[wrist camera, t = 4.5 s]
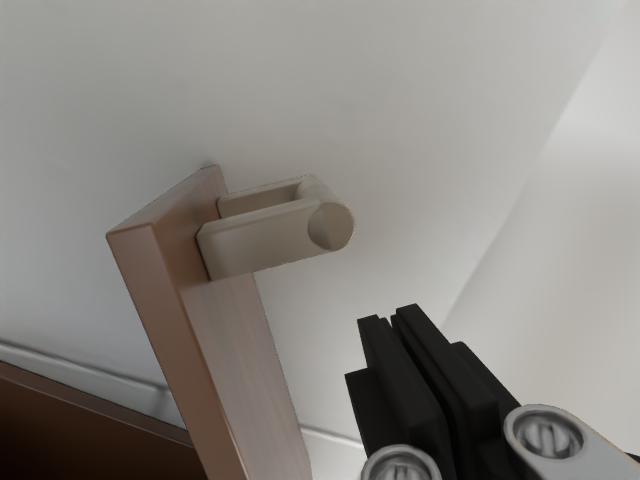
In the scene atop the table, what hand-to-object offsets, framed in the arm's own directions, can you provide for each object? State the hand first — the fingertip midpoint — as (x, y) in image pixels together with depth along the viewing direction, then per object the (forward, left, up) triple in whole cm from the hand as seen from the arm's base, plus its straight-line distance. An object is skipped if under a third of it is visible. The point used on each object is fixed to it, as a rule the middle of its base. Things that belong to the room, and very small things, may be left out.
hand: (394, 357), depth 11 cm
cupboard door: (+3, 0, -7) cm, 8 cm away
